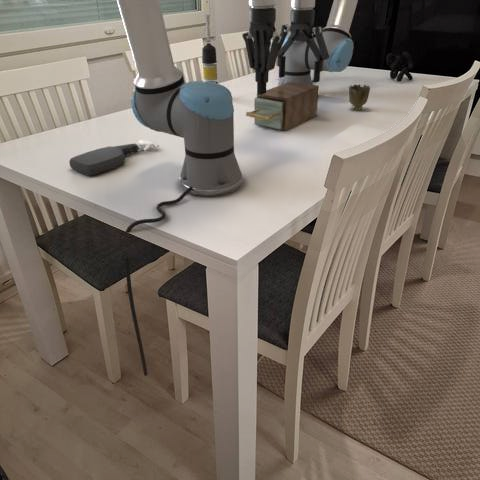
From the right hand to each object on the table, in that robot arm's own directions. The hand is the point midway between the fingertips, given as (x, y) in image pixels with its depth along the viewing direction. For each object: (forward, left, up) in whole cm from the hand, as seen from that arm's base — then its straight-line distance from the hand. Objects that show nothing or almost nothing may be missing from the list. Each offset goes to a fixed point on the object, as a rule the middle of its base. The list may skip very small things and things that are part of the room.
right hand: (298, 79), depth 151 cm
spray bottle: (+48, -47, -12) cm, 68 cm away
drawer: (+10, -5, -11) cm, 16 cm away
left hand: (+19, -10, 0) cm, 22 cm away
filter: (-19, -35, -12) cm, 42 cm away
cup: (-10, +21, -12) cm, 26 cm away
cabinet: (+5, -3, -12) cm, 14 cm away
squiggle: (-60, +42, -12) cm, 74 cm away
